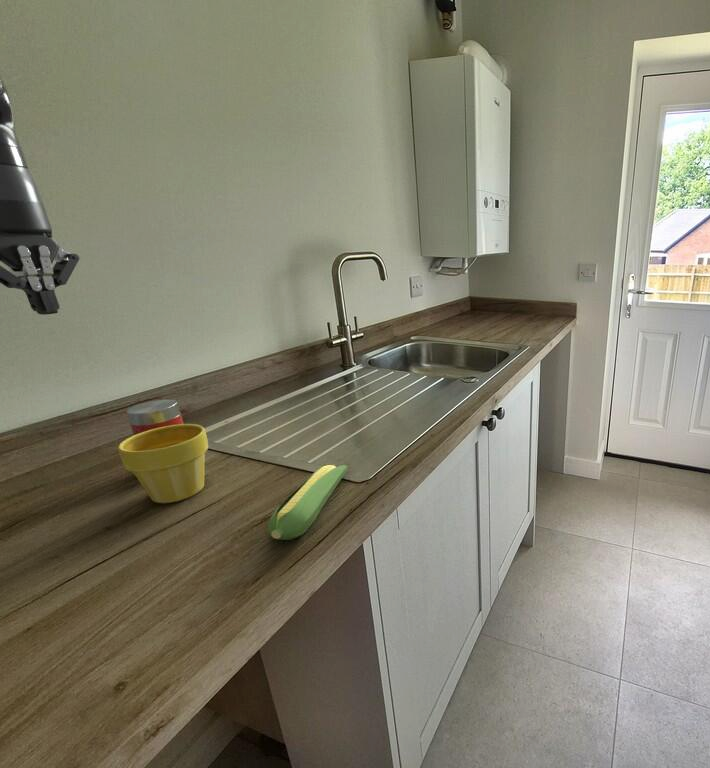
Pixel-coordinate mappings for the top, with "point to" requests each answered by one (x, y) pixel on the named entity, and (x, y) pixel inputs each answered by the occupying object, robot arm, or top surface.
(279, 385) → the top surface
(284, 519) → the edible corn
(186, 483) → the flower pot
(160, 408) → the tin can
